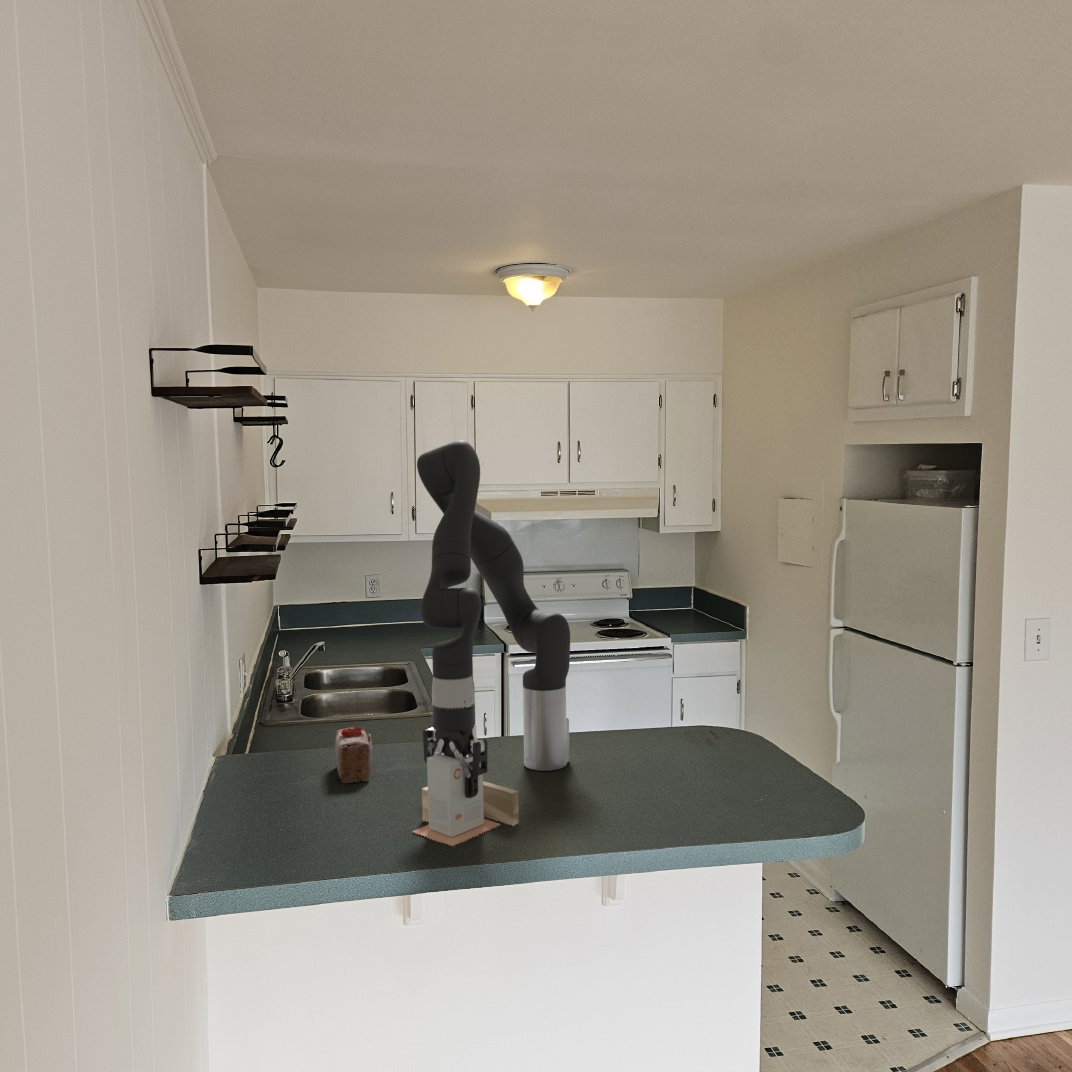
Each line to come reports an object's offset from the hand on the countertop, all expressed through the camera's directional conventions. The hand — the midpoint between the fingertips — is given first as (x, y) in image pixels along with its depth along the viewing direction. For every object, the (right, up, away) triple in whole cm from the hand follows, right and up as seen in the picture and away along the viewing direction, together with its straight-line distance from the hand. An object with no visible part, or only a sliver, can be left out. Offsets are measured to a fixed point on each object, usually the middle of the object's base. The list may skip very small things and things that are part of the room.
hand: (455, 791), depth 165 cm
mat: (0, -7, 0) cm, 7 cm away
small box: (0, -7, +1) cm, 7 cm away
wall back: (+5, -6, +7) cm, 10 cm away
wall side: (-3, -6, +8) cm, 10 cm away
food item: (-24, -5, +32) cm, 40 cm away
